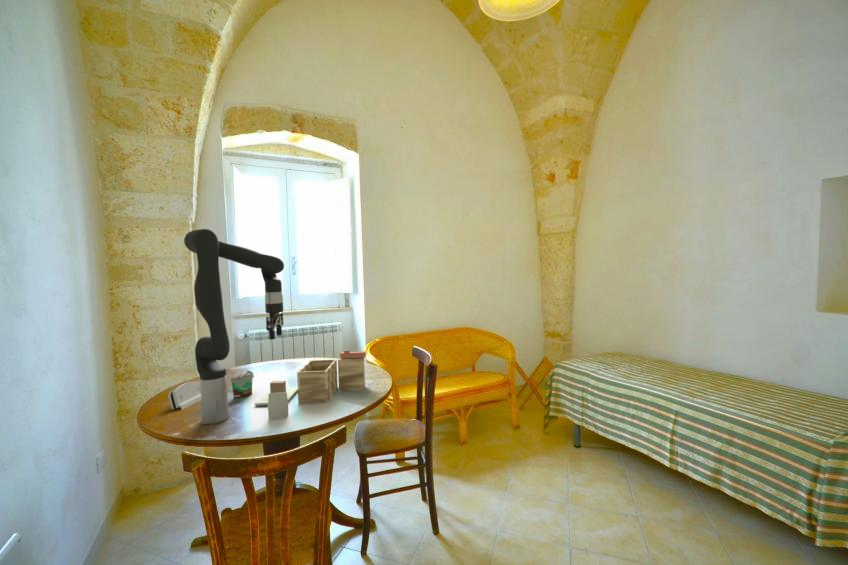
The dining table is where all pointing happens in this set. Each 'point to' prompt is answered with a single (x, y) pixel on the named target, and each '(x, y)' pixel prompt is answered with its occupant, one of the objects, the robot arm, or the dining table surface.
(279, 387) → the lid
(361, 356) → the key bar
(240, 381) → the food container
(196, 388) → the hinge
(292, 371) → the dining table surface
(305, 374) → the wooden box
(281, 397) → the tea box
